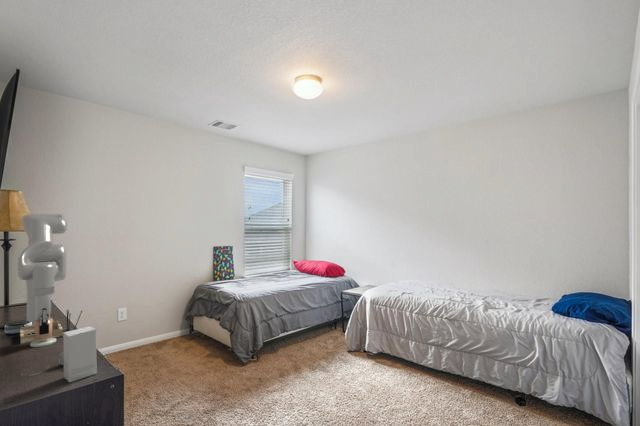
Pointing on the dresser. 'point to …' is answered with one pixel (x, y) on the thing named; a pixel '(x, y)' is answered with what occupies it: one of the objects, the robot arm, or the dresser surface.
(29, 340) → the wooden frame
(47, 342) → the pale mint disc
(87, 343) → the skincare box
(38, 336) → the terracotta pot
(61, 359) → the reed diffuser
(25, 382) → the dresser surface
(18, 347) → the dresser surface
